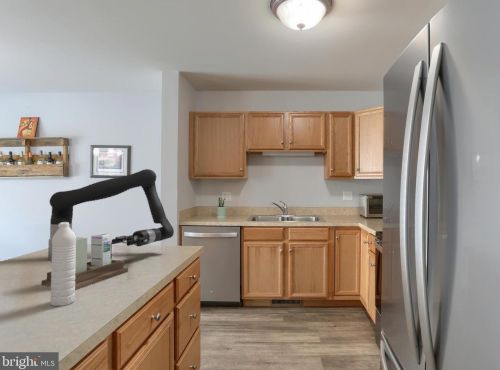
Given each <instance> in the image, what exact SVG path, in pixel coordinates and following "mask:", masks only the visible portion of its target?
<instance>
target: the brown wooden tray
mask: <svg viewBox="0 0 500 370" xmlns="http://www.w3.org/2000/svg"><path fill="white" fill-rule="evenodd" d="M128 272H129V268H128V267H124V260H116V259H112V263H111V264H108V265H104V266H94V265H91V260H90V261H87V271H84V272H80V273H77V274H75V291H77V290H79V289H83V288H85V287H86V288H87V287H88V286H91V284H92V285H94V284H97V283H100V282H103V281H105V280H108V279H112V278H114V277H117V276H120V275H122V274H125V273H128ZM40 283H41V285H42V286H46V287H51V271H48V272H46V279H44V280H41V282H40Z"/></svg>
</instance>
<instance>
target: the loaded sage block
mask: <svg viewBox="0 0 500 370" xmlns="http://www.w3.org/2000/svg"><path fill="white" fill-rule="evenodd" d="M75 258H76V260H75V261H76V267H75V270H76V272H75V274H77V273H80V272H84V271H87V262H88V237H83V236H76V257H75Z"/></svg>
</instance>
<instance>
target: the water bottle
mask: <svg viewBox="0 0 500 370" xmlns="http://www.w3.org/2000/svg"><path fill="white" fill-rule="evenodd" d="M58 227H60V228H59V229H58V230H57V232H56V233H55V234H54V236H53V238H52V260H51V265H50V266H51V271H50V272H51V286H50V302H49V303H50V305H51V306H53V307H62V306H67V305H71V304H72V303H74V302H75V300H76V293H75V292H76V290H75V272H76V270H75V267H76V261H75V260H76V258H75V257H76V237H77V236H76V234H75V233H74V231H73V229H72V230H71V228H70V227H69V222H61V223H60V224H58Z"/></svg>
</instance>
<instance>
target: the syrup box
mask: <svg viewBox="0 0 500 370" xmlns="http://www.w3.org/2000/svg"><path fill="white" fill-rule="evenodd" d="M112 239H113V235H112V233H99V234H95V235H94V234H93V235H90V261H91V265H94V266H104V265H108V264H111V263H112V260H113V253H112V252H113V244H112Z"/></svg>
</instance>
